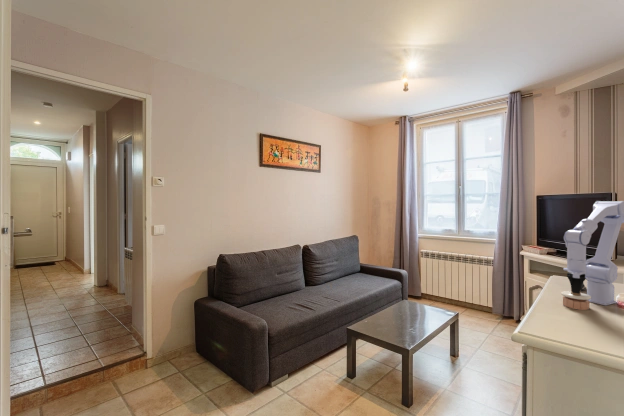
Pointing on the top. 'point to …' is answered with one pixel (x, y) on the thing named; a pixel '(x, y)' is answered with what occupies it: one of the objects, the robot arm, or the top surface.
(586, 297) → the lid
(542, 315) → the top surface
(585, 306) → the bowl
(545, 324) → the top surface
